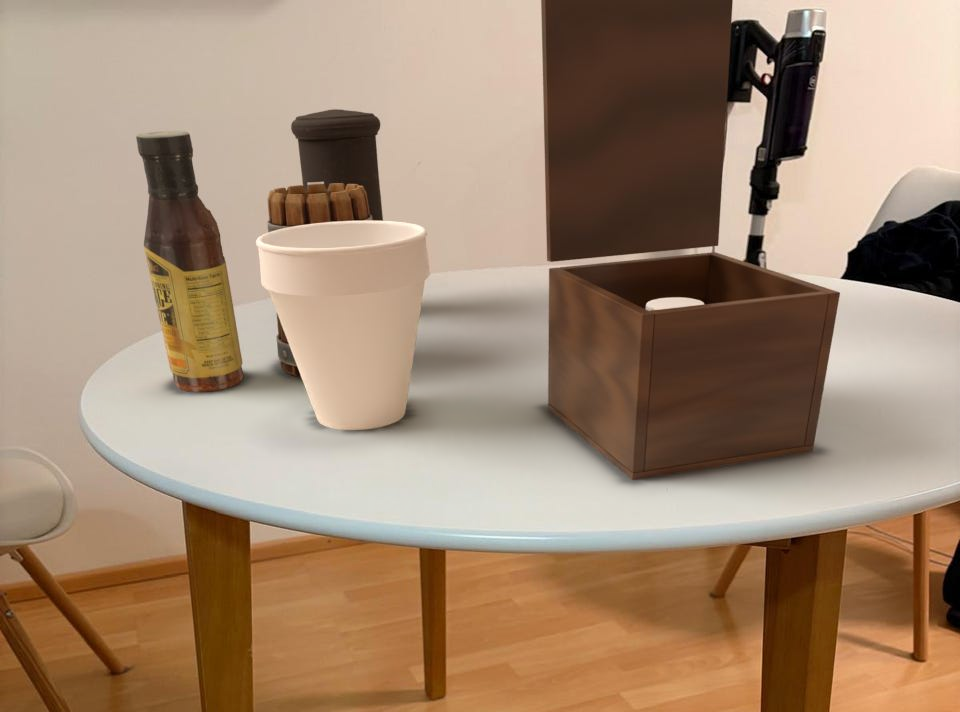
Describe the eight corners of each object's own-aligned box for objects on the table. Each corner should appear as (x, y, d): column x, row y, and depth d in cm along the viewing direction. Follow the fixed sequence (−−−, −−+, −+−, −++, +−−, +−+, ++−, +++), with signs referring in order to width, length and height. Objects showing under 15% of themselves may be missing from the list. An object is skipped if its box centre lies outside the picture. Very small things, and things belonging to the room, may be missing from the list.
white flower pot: (263, 412, 74) (233, 232, 67) (399, 385, 79) (384, 214, 72) (316, 459, 65) (288, 256, 58) (466, 425, 70) (458, 234, 63)
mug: (398, 378, 81) (383, 192, 73) (279, 387, 80) (250, 200, 72) (385, 335, 94) (371, 173, 86) (282, 342, 93) (258, 179, 85)
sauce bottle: (174, 380, 83) (121, 132, 72) (244, 372, 84) (201, 127, 74) (174, 401, 78) (117, 137, 67) (249, 392, 79) (204, 132, 68)
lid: (734, -20, 61) (727, -18, 62) (545, -16, 58) (540, -14, 59) (718, 245, 69) (713, 245, 70) (550, 261, 66) (546, 261, 67)
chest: (812, 455, 63) (840, 292, 57) (632, 484, 60) (642, 314, 54) (701, 391, 75) (715, 251, 70) (547, 412, 72) (548, 268, 66)
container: (316, 308, 105) (291, 109, 95) (394, 304, 106) (378, 105, 95) (313, 327, 98) (286, 113, 87) (396, 322, 99) (379, 109, 88)
